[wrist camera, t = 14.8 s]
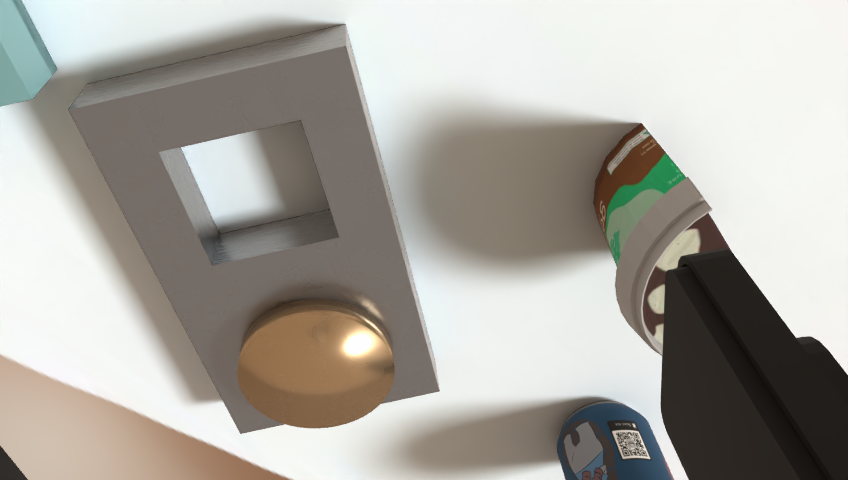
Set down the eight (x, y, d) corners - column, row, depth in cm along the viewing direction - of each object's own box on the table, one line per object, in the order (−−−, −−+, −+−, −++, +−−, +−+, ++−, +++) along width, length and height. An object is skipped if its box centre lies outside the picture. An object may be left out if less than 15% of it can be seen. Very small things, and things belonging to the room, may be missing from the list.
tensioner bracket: (87, 83, 35) (57, 124, 32) (345, 24, 35) (346, 57, 31) (245, 398, 49) (237, 452, 45) (434, 358, 48) (442, 409, 44)
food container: (532, 167, 41) (581, 275, 32) (629, 103, 39) (706, 200, 31) (630, 296, 47) (692, 415, 39) (717, 246, 45) (801, 359, 37)
